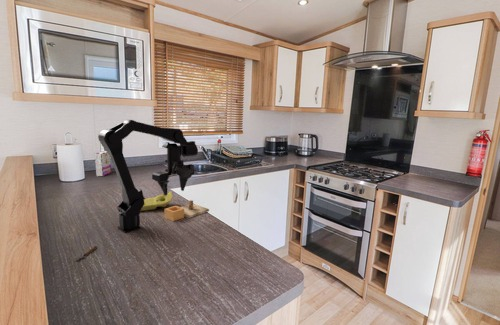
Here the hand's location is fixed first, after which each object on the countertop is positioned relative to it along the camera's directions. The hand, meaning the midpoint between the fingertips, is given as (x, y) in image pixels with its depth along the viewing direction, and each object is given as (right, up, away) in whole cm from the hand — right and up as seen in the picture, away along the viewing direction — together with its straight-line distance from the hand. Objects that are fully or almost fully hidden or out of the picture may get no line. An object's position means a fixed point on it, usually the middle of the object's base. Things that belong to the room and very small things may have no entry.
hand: (174, 192), depth 117 cm
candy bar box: (-71, +4, +73) cm, 102 cm away
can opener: (-19, -17, -32) cm, 41 cm away
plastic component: (-15, -9, +12) cm, 21 cm away
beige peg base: (+5, -10, +9) cm, 15 cm away
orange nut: (0, -11, +1) cm, 11 cm away
